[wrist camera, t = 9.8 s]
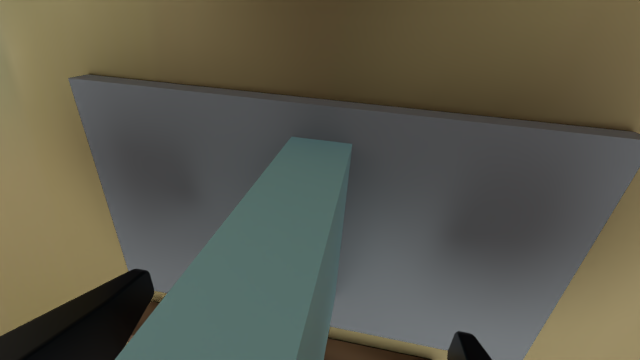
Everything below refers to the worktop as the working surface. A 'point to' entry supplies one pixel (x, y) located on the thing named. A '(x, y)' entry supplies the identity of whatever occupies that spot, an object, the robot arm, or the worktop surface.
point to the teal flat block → (261, 269)
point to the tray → (338, 354)
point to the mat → (370, 200)
